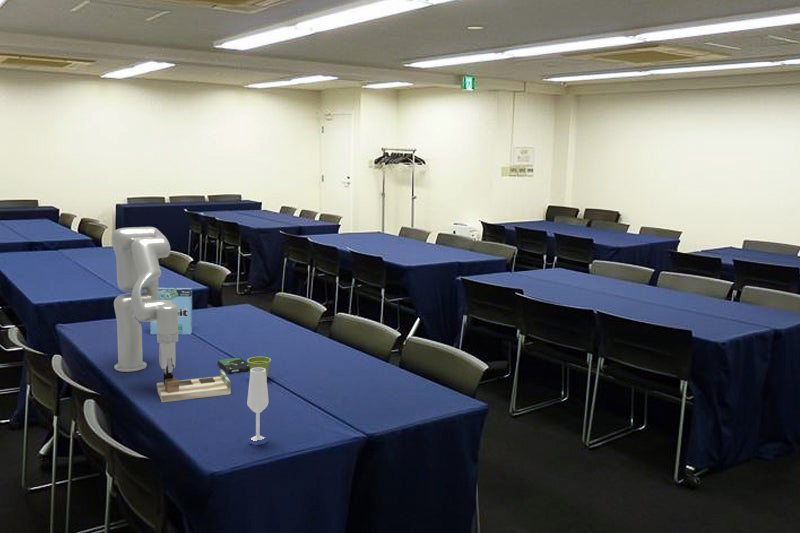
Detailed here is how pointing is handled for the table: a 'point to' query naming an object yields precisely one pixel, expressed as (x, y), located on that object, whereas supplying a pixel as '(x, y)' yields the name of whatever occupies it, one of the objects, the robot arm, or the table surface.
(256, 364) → the plant pot
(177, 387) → the walnut block
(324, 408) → the table surface
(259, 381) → the champagne flute
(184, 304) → the gum box
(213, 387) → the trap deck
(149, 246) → the robot arm
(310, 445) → the table surface
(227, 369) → the disk drive
